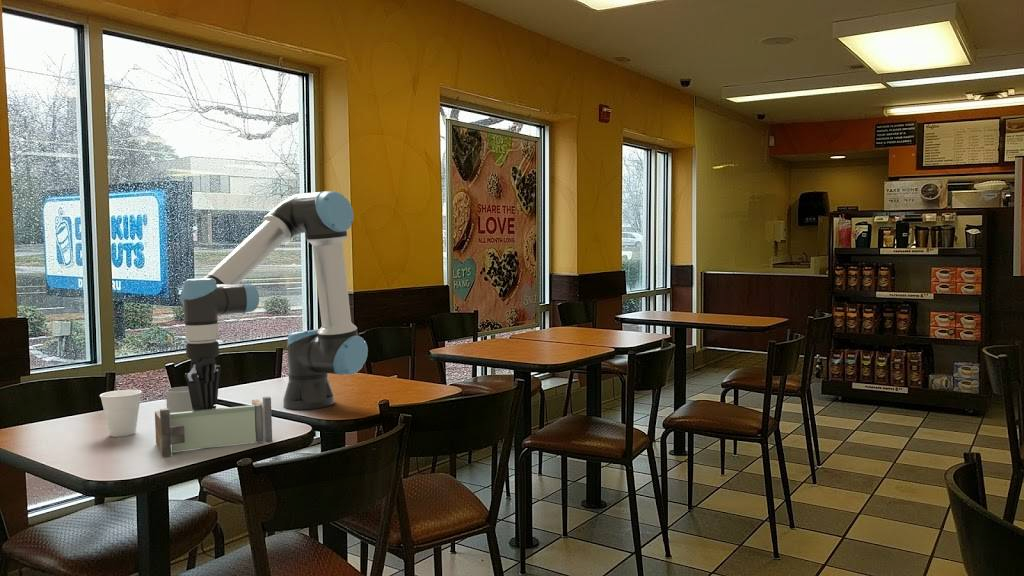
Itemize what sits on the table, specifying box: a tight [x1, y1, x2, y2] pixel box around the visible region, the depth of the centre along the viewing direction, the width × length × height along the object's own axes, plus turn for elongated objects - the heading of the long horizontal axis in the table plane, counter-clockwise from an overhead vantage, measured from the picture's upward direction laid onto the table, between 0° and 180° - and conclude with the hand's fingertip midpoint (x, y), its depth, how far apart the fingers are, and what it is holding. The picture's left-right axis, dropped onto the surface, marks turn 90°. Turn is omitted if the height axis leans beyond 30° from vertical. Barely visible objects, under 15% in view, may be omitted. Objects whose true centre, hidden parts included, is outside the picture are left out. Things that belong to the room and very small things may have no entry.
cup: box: [99, 389, 143, 438], centre depth 198 cm, size 10×10×11 cm
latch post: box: [154, 407, 185, 458], centre depth 181 cm, size 5×15×11 cm, turn 32°
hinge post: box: [251, 396, 273, 443], centre depth 194 cm, size 2×14×11 cm, turn 32°
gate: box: [170, 404, 264, 453], centre depth 183 cm, size 21×2×9 cm, turn 114°
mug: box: [165, 385, 194, 427], centre depth 204 cm, size 12×8×11 cm
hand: (206, 435), depth 186 cm, fingers closed
